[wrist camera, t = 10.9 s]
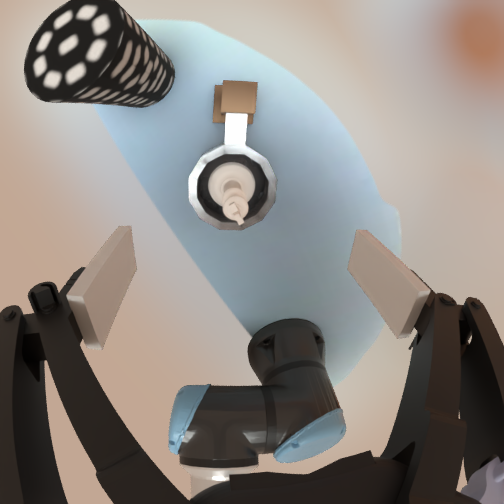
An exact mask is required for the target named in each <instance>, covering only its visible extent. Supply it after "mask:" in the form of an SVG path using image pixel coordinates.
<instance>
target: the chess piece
mask: <svg viewBox="0 0 504 504" xmlns="http://www.w3.org/2000/svg"><path fill="white" fill-rule="evenodd" d="M208 189H209V192H210V195H211V197H212V198H213V200H214V201H215V202H216V203H217V204H219V205H220V206H223V212H224V214H225V216H226V217H227V218H229V219H231V220H236V221H237V222H238V224H239V225H240V224H243V223H244V220H243V218H244V217H245V216H246V214H247V213H248V208H249V207H248V203H247V202H248V201H249V200H250V199H251V197H252V196H253V194H254V190H255V179H254V176H253V174H252V172H251V171H250V170H249V169H248V168H247V167H246V166H244V165H242V164H240V163H236V162H228V163H224V164H222V165H220V166H218V167H217V168H216V169H215V170H214V171H213V172H212V174H211V175H210V178H209V182H208Z"/></svg>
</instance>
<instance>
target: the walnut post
mask: <svg viewBox="0 0 504 504" xmlns="http://www.w3.org/2000/svg"><path fill="white" fill-rule="evenodd" d="M257 83H258V82H247V81H229V80H223V85H215V94H214V109H213V122H216V123H226V113H241V114H247V124H253V114H255V109H256V96H257Z"/></svg>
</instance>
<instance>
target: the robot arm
mask: <svg viewBox="0 0 504 504" xmlns="http://www.w3.org/2000/svg"><path fill="white" fill-rule="evenodd" d="M347 269H348V271H349V272H350V273H351V275H352V276H353V277H354V279H355V280H356V281H357V283H358V284H359V285H360V287H361V288H362V289H363V291H364V292H365V294H366V295H367V296H368V298H369V299H370V300H371V302H372V303H373V305H374V306H375V307H376V309H377V310H378V312H379V313H380V314H381V316H382V317H383V319H384V320H385V322H386V323H387V325H388V326H389V327H390V329H391V330H392V332H393V333H394V335H395V336H396V338H397V339H401V338H406V337H409V335H410V334H411V332H412V330H413V328H415V329H416V330H417V334H416V337H415V338H414V340H413V342H412V343H411V346H410V347H409V350H410V349H411V348H412V347H413V350H412V355H411V361H410V366H409V370H408V375H407V379H406V383H405V388H404V392H403V395H402V400H401V403H400V407H399V410H398V413H397V417H396V420H395V423H394V426H393V430H392V432H391V435H390V438H389V441H388V444H387V446H386V448H385V450H384V452H383V453H382V455H381V456H380V457H373V456H372V453H371V451H370V450H369V451H366V452H363V453H360V454H357V455H353V456H349V457H345V458H342V459H339V460H337V461H335V462H333V463H331V464H329V465H327V466H325V467H323V468H321V469H319V470H317V471H314V472H312V473H310V474H304V475H303V474H286V473H285V474H284V473H273V472H260V473H251V472H252V471H253V470H255V469H256V468H257V467H258V465H259V464H258V454H268V453H273V457H274V458H275V459H276V461H278V462H280V463H284V462H285V463H291V462H297V461H301V460H304V459H307V458H310V457H313V456H315V455H318V454H320V453H322V452H324V451H326V450H328V449H329V448H331V447H333V446H334V445H335V444H337V443H338V442H339V441H340V440H341V439H342V438H343V436H344V435H345V432H346V424H345V420H344V417H343V410H342V409H341V408H340V405H339V402H338V400H337V397H336V395H335V392H334V389H333V387H332V384H331V382H330V379H329V376H328V374H327V371H326V369H325V341H324V338H323V336H322V334H321V331H320V330H319V328H318V327H317V326H316V325H314V324H313V323H311V322H308V321H305V320H299V319H289V320H282V321H278V322H275V323H273V324H270V325H268V326H266V327H264V328H263V329H261V330H260V331H259V332H257V333H256V334H255V335H254V337H253V338H252V339H251V341H250V343H249V345H248V358H249V363H250V365H251V367H252V369H253V370H254V372H255V374H256V375H257V377H258V379H259V380H260V382H261V383H262V386H212V385H211V384H207V385H187V386H184V387H182V388H181V389H180V390H179V391H178V393H177V395H176V398H175V401H174V405H173V409H172V413H171V419H170V426H169V444H168V445H169V450H170V452H172V453H174V454H177V455H178V454H179V455H180V466H181V467H183V468H184V469H185V470H186V471H187V472H188V473H189V474H190V476H191V494H192V498H191V499H190V500H187V498H186V497H184V495H183V494H182V493H181V492H180V491H179V490H178V489H177V488H176V487H175V486H174V485H173V484H172V483H171V482H170V481H169V480H168V479H167V477H166V476H165V475H163V473H162V472H161V471H160V469H159V468H158V467H157V466H156V465H155V463H154V462H153V461H152V460H151V459H150V457H149V456H148V455H147V454H146V452H145V451H144V450H143V449H142V448H141V446H140V445H139V444H138V442H137V441H136V440H135V438H134V437H133V435H132V434H131V433H130V431H129V430H128V428H127V427H126V425H125V424H124V423H123V421H122V420H121V418H120V416H119V415H118V413H117V412H116V410H115V409H114V407H113V406H112V404H111V402H110V401H109V399H108V397H107V396H106V394H105V392H104V391H103V389H102V387H101V385H100V384H99V382H98V380H97V378H96V377H95V375H94V373H93V371H92V369H91V367H90V365H89V363H88V361H87V359H86V357H85V355H84V353H83V351H82V349H81V347H80V343H81V341H82V339H83V340H84V342H85V344H86V347H87V348H90V349H97V350H102V349H103V347H104V344H105V341H106V339H107V336H108V334H109V331H110V329H111V326H112V324H113V322H114V319H115V317H116V314H117V312H118V310H119V307H120V305H121V303H122V300H123V298H124V296H125V294H126V291H127V289H128V287H129V285H130V283H131V281H132V278H133V276H134V274H135V272H136V270H137V266H136V260H135V253H134V246H133V239H132V230H131V226H119V227H118V228H117V229H116V230H115V231H114V233H113V234H112V235H111V236H110V237H109V239H108V240H107V241H106V242H105V244H104V245H103V246H102V247H101V249H100V250H99V251H98V252H97V254H96V255H95V256H94V258H93V259H92V260H91V262H90V263H89V264H88V266H87V267H81V268H80V269H78V270H77V271H76V272H74V273H73V275H72V276H71V277H70V279H69V280H68V281H67V283H66V285H64V287H63V288H62V289H61V291H60V292H59V293H58V290H57V287H56V285H55V284H54V283H53V282H43V283H39V284H38V285H36V286H34V287H33V288H32V289H31V290H30V291H29V293H28V298H29V301H30V303H31V306H32V308H33V310H34V313H32V314H25V315H23V312H22V310H21V308H20V307H19V306H16V305H13V306H9V307H6V308H5V309H3V310H2V311H1V313H0V504H68V502H67V499H66V497H65V493H64V490H63V487H62V483H61V480H60V476H59V472H58V468H57V464H56V460H55V455H54V451H53V445H52V440H51V435H50V428H49V421H48V412H47V403H46V392H45V371H44V360H47V362H48V365H49V368H50V371H51V374H52V377H53V380H54V383H55V385H56V388H57V391H58V393H59V396H60V398H61V401H62V403H63V406H64V408H65V410H66V413H67V415H68V417H69V419H70V421H71V423H72V426H73V428H74V430H75V432H76V434H77V436H78V438H79V439H80V441H81V443H82V445H83V447H84V449H85V451H86V453H87V454H88V456H89V458H90V460H91V461H92V463H93V465H94V467H95V468H96V471H97V472H96V476H97V479H98V481H99V483H100V484H101V486H102V488H103V489H104V490H105V492H106V493H107V495H108V496H109V498H110V499H111V500H112V502H113V503H114V504H504V345H503V343H502V341H501V339H500V337H499V334H498V332H497V330H496V328H495V326H494V324H493V322H492V320H491V318H490V316H489V314H488V312H487V310H486V308H485V306H484V305H483V303H481V302H480V300H477V298H472V297H468V298H467V299H466V301H465V303H464V305H457V304H456V301H455V300H454V299H453V298H451V297H450V296H449V295H446V294H443V293H437V294H436V293H435V292H434V291H433V290H432V289H431V288H430V287H429V286H428V285H427V284H426V283H425V282H423V280H422V279H421V278H419V276H418V275H417V274H416V273H415V272H414V271H412V270H411V269H409V268H408V267H407V266H406V265H405V264H404V263H403V262H402V261H401V260H400V259H398V258H397V257H396V256H395V255H394V254H393V253H392V252H391V251H390V250H389V249H388V248H387V247H385V246H384V245H383V244H382V243H381V242H380V241H379V240H378V239H376V238H375V237H374V236H373V235H372V234H371V233H370V232H368V231H367V230H356V234H355V239H354V243H353V248H352V252H351V256H350V260H349V264H348V268H347ZM471 335H472V339H471V342H470V344H469V343H468V340H469V338H470V337H471ZM459 412H460V419H459V418H458V415H459ZM463 458H464V468H465V475H466V480H467V484H468V485H466V486H465V487H463V488H462V490H461V493H460V492H458V491H456V488H457V484H458V480H459V476H460V471H461V466H462V460H463Z"/></svg>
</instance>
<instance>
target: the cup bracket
mask: <svg viewBox="0 0 504 504" xmlns="http://www.w3.org/2000/svg"><path fill="white" fill-rule="evenodd" d="M246 128H247V114H241V113H226V123H225V140H224V143H222V144H220V145H218V146H216V147H214V148H212V149H210V150H209V151H207V152H205V153H203V154H202V156H201V158H200V159H199V161H198V162H197V164H196V166H195V167H194V169H193V171H192V172H191V174H190V176H189V201H190V203H191V204H192V206H193V208H194V209H195V211H196V213H197V214H198V216H199V218H200V219H201V220H203V221H205V222H207V223H208V224H210V225H212V226H214V227H216V228H217V229H219V230H243V229H245V228H247V227H249V226H251V225H253V224H255V223H257V222H259V221H261V220H263V218H264V217H265V215H266V214H267V213H268V211H269V210H270V208H271V207H272V206H273V204H274V203H275V197H276V187H277V178H276V176H275V174H274V172H273V170H272V168H271V166H270V164H269V162H268V160H267V159H266V158H265V157H264V156H263V155H261V154H260V153H258V152H257V151H255V150H254V149H252V148H250V147H249V146H247V145H246V144H245V142H246ZM228 162H236V163H240V164H242V165H244V166H246V167H247V168H248V169H249V170H250V171H251V172H252V174H253V176H254V179H255V190H254V194H253V196H252V197H251V199H250V200H249V201H248V202H247V203H248V207H249V208H248V213H247V214H246V216H245V217H244V218H243V220H244V223H243V224H240V225H239V224H238V222H237V221H236V220H231V219H229V218H227V217H226V216H225V214H224V212H223V206H220V205H219V204H217V203H216V202H215V201H214V200H213V198H212V197H211V195H210V192H209V189H208V182H209V178H210V175H211V174H212V172H213V171H214V170H215V169H216V168H217V167H218V166H220V165H222V164H224V163H228Z"/></svg>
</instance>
